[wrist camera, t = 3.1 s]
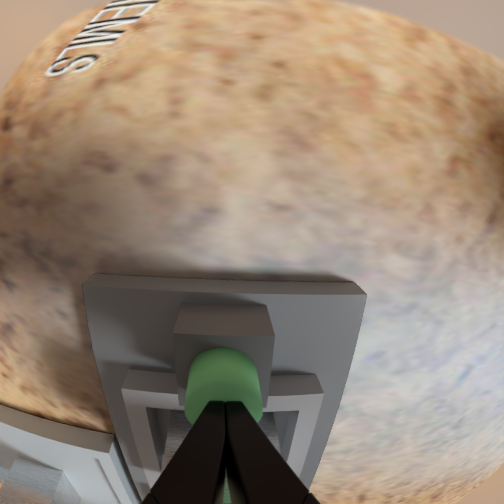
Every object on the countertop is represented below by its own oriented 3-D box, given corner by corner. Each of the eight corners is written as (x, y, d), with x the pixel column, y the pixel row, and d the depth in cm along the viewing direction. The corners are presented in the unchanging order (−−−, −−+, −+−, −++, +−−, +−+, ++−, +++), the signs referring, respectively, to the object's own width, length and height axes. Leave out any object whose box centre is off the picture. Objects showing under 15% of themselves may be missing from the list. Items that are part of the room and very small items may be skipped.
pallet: (288, 518, 17) (294, 550, 14) (156, 516, 16) (153, 549, 13) (354, 282, 12) (392, 320, 9) (94, 273, 11) (56, 309, 8)
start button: (254, 398, 9) (259, 435, 8) (190, 397, 9) (186, 434, 7) (259, 347, 9) (266, 383, 7) (187, 345, 8) (181, 381, 7)
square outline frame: (154, 527, 17) (152, 540, 16) (20, 490, 16) (15, 500, 14) (114, 434, 13) (108, 453, 12) (-48, 383, 12) (-58, 394, 11)
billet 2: (263, 459, 13) (279, 564, 7) (180, 457, 12) (172, 563, 7) (271, 405, 12) (297, 532, 6) (172, 402, 11) (153, 531, 6)
